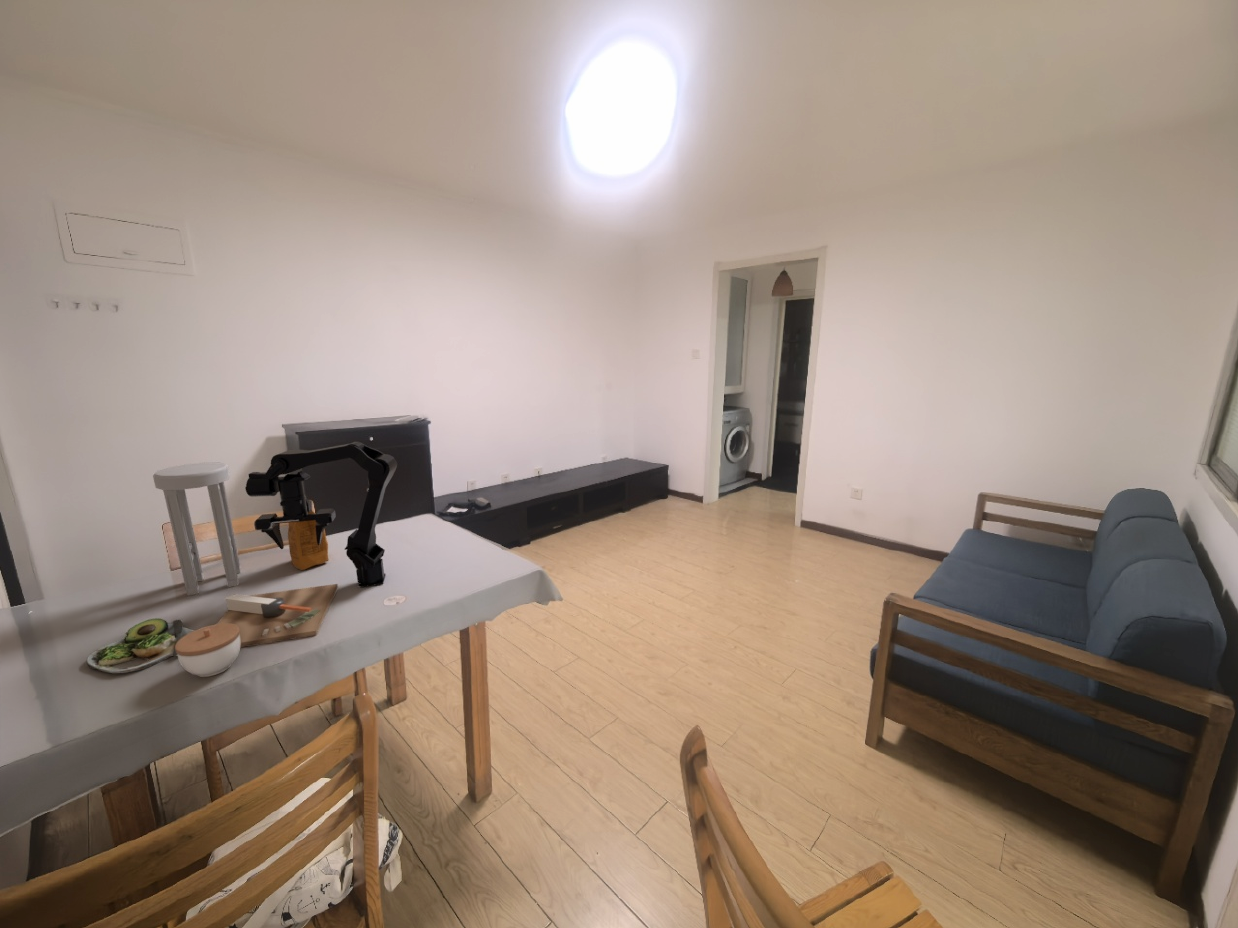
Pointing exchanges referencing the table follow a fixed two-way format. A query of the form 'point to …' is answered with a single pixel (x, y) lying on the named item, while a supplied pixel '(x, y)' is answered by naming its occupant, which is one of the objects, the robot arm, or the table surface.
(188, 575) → the stool
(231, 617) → the cutting board
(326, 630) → the table surface
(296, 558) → the coffee package
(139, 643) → the salad plate
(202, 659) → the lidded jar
